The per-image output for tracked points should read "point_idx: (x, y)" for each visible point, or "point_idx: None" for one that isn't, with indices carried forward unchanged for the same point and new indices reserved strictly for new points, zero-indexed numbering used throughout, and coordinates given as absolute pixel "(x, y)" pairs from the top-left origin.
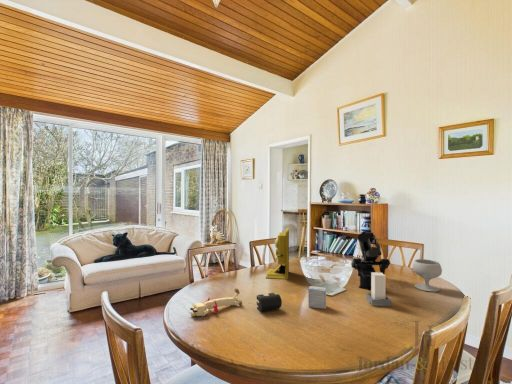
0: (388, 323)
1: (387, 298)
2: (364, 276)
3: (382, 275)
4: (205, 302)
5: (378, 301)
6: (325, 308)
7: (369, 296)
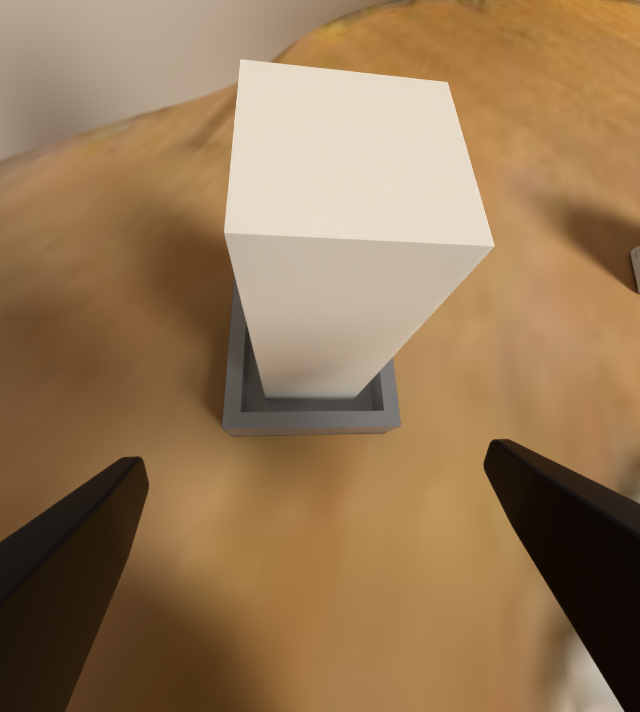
0: None
1: None
2: (526, 457)
3: (302, 69)
4: None
5: None
6: (633, 250)
7: None
